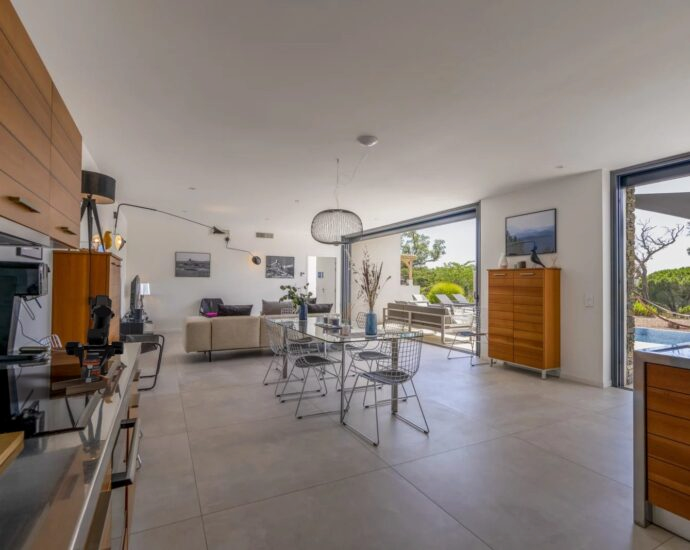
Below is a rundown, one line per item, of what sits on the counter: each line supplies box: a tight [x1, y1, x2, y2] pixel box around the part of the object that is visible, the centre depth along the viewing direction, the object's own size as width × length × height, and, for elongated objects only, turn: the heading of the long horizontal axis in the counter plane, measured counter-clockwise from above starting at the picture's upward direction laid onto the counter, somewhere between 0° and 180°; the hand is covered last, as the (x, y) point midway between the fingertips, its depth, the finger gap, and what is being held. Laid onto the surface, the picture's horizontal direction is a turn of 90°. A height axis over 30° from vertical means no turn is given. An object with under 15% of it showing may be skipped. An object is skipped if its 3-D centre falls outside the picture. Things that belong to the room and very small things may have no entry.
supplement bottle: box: [80, 352, 101, 385], centre depth 138 cm, size 6×6×11 cm
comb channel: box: [51, 374, 111, 396], centre depth 135 cm, size 11×14×4 cm
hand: (90, 366), depth 137 cm, fingers closed on supplement bottle, 6 cm apart
